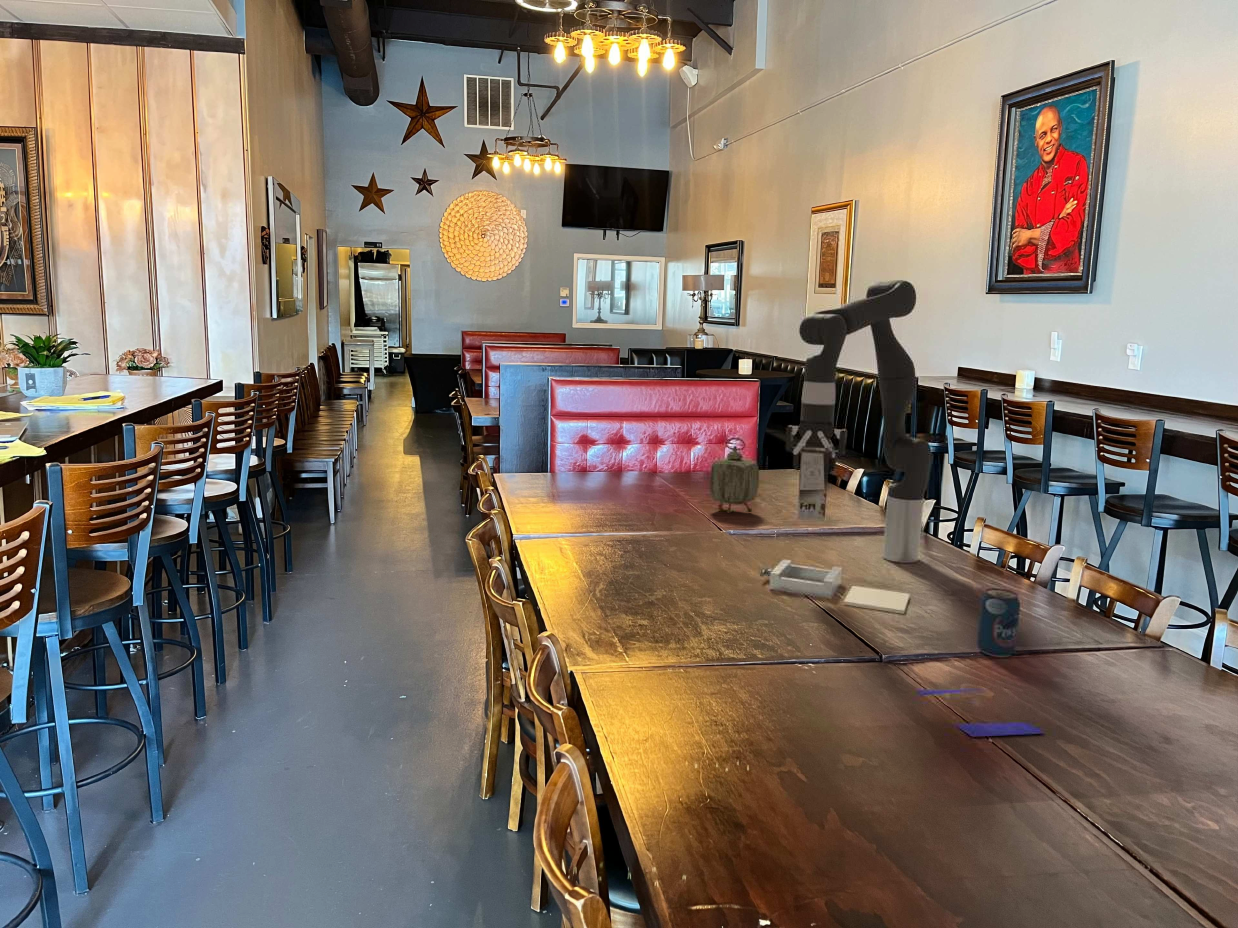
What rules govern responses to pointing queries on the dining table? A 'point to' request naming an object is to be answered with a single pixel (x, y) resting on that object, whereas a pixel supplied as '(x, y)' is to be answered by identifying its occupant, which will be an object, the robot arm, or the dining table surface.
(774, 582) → the grey drawer
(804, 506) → the coffee box
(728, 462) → the tabletop clock
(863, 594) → the pad
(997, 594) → the soda can
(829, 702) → the dining table surface
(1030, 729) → the blue strips
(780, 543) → the dining table surface
